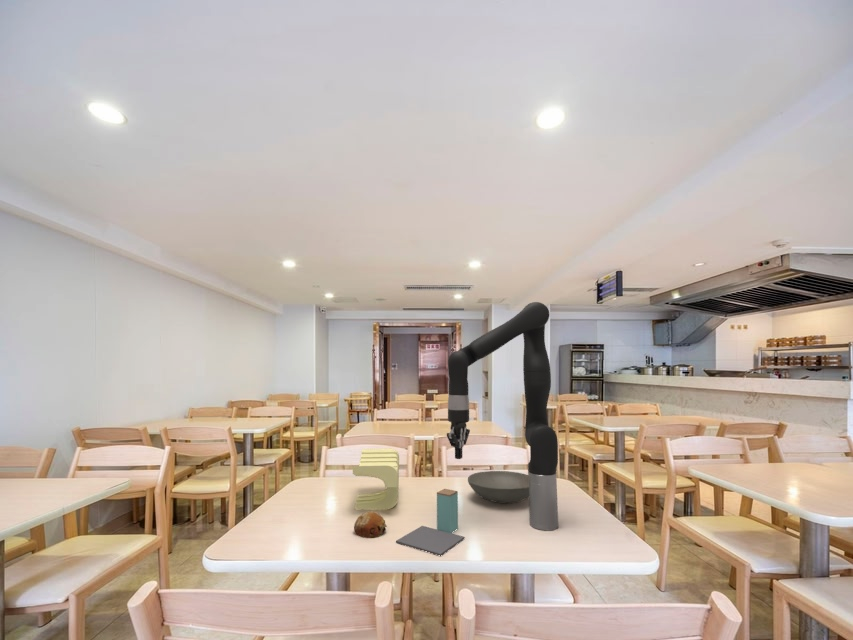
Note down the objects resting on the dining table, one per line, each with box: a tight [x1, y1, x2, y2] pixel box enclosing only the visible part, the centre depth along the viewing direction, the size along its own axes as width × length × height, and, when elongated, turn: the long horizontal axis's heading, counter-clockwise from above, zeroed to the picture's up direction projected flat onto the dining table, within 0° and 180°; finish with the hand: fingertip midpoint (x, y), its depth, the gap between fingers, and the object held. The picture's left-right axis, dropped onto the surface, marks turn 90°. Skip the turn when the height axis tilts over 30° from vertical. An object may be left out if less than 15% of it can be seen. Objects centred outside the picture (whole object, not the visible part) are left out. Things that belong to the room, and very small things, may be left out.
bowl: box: [467, 470, 529, 504], centre depth 163 cm, size 27×28×8 cm
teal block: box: [436, 488, 459, 534], centre depth 134 cm, size 5×5×12 cm
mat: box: [395, 525, 466, 557], centre depth 125 cm, size 14×16×1 cm
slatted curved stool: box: [352, 448, 400, 510], centre depth 160 cm, size 30×16×18 cm, turn 3°
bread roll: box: [353, 510, 388, 539], centre depth 133 cm, size 10×10×8 cm
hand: (458, 458), depth 142 cm, fingers closed
